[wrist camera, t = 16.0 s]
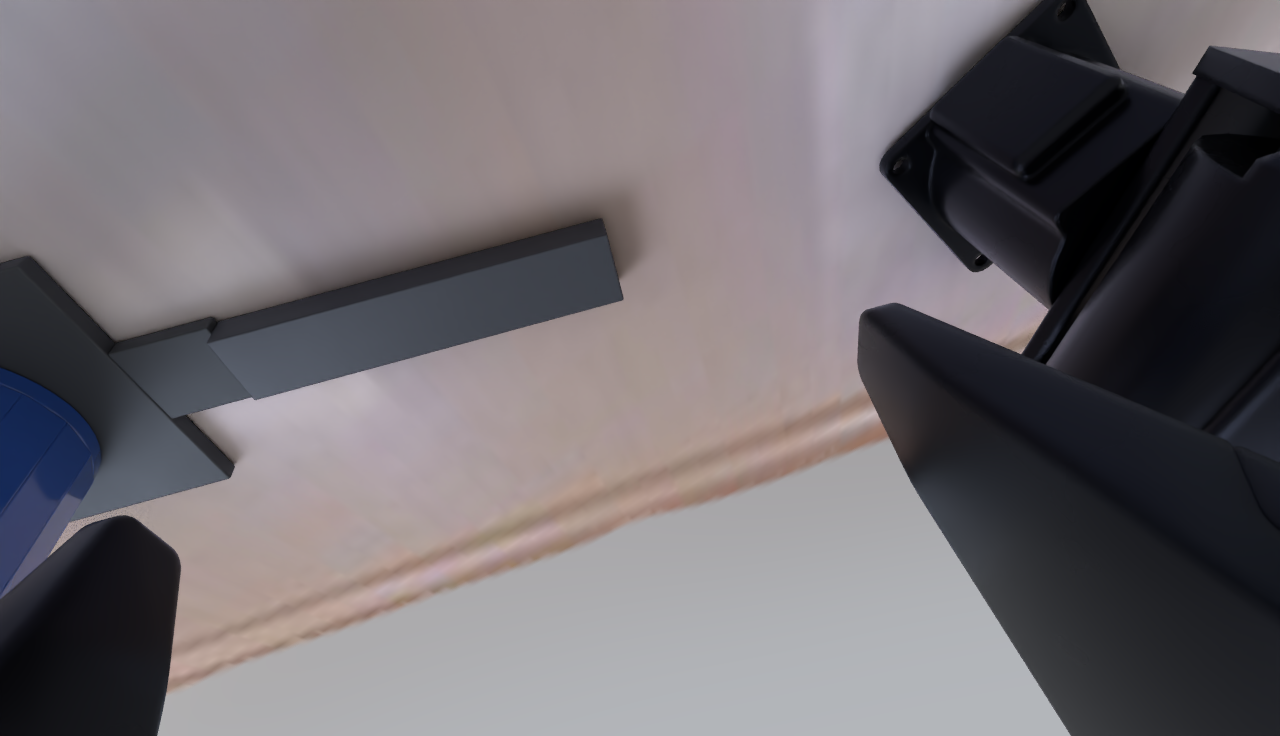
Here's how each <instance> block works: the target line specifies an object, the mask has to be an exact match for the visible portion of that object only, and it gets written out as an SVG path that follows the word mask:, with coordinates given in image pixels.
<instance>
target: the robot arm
mask: <svg viewBox="0 0 1280 736" xmlns="http://www.w3.org/2000/svg"><path fill="white" fill-rule="evenodd" d="M1065 2H1066V5H1065V8H1064V10H1063V11H1062V13H1061V14H1060V15H1059V16H1057V13H1058V10H1059V8H1060V7H1061V6H1062V4H1063V3H1065ZM1192 74H1194V75H1196V78H1195V79H1194V81H1193V82H1192V84H1191V85H1190V87H1189V89H1188V90H1187V92H1186V93H1185V94H1184V93H1181V92H1179V91H1176V90H1173V89H1170V88H1168V87H1165V86H1162V85H1160V84H1157V83H1154V82H1152V81H1149V80H1146V79H1143V78H1141V77H1138V76H1135V75H1133V74H1130V73H1127V72H1125V71H1122V70H1120V68H1119V66H1118V64H1117V62H1116V60H1115V58H1114V56H1113V54H1112V52H1111V50H1110V48H1109V46H1108V44H1107V42H1106V39H1105V37H1104V35H1103V33H1102V31H1101V29H1100V27H1099V25H1098V23H1097V21H1096V19H1095V17H1094V15H1093V13H1092V11H1091V9H1090V7H1089V5H1088V3H1087V1H1086V0H1043V1H1042V2H1041V3H1040V4H1039V5H1038V6H1037V7H1036V8H1035V9H1034V10H1033V11H1032V12H1031V13H1030V14H1029V15H1028V16H1027V17H1026V18H1025V19H1024V20H1023V21H1022V22H1021V23H1019V24H1018V25H1017V26H1016V27H1015V28H1014V29H1013V30H1012V31H1011V32H1010V33H1009V34H1008V35H1007V36H1006V37H1005V38H1003V39H1002V40H1001V41H1000V42H999V43H998V44H997V45H996V46H995V47H994V48H993V49H992V50H991V51H990V52H989V53H988V54H987V55H986V56H985V57H983V58H982V59H981V60H980V61H979V62H978V63H977V64H976V65H975V66H974V67H973V68H972V69H971V70H970V71H969V72H968V73H967V74H966V75H965V76H964V77H963V78H962V79H961V80H960V81H959V82H958V83H957V84H956V85H955V86H954V87H953V88H951V89H950V90H949V91H948V92H947V93H946V94H945V95H944V96H943V97H942V98H941V99H940V100H939V101H938V102H937V103H936V104H935V105H934V106H933V108H932V109H931V110H930V111H929V112H928V113H927V114H926V115H924V116H923V117H922V118H921V119H920V120H919V121H918V122H917V123H916V124H915V125H914V126H913V127H912V128H911V129H910V130H909V131H908V132H907V133H906V134H905V135H904V136H903V137H902V138H901V139H900V140H899V141H898V142H897V143H896V144H895V145H894V146H892V147H891V148H890V149H889V150H888V151H887V152H886V154H885V155H884V156H883V157H882V159H881V162H880V172H881V174H882V175H883V176H884V177H885V178H886V179H887V181H888V182H889V183H890V184H891V185H892V186H893V187H894V188H895V189H896V191H897V192H898V193H899V194H900V195H901V196H902V197H903V198H904V199H905V200H906V202H907V203H908V204H909V205H910V206H911V207H912V208H913V209H914V210H915V212H916V213H917V214H918V215H919V216H920V217H921V218H922V219H923V220H924V221H925V223H926V224H927V225H928V226H929V227H930V228H931V229H932V230H933V231H934V233H935V234H936V235H937V236H938V237H939V238H940V239H941V240H942V241H943V242H944V244H945V245H946V246H947V247H948V248H949V249H950V250H951V251H952V252H953V253H954V255H955V256H956V257H957V258H958V259H959V260H960V261H961V262H962V263H963V264H964V265H965V266H966V267H967V268H968V269H969V270H971V271H972V272H979V271H983V270H984V269H986V268H987V267H989V266H990V265H991V264H992V263H994V264H995V265H997V266H998V267H999V268H1000V269H1001V270H1002V271H1004V272H1005V273H1006V274H1007V275H1008V276H1010V277H1011V278H1012V279H1013V280H1014V281H1015V282H1017V283H1018V284H1019V285H1020V286H1021V287H1023V288H1024V289H1025V290H1026V291H1027V292H1028V293H1030V294H1031V295H1032V296H1033V297H1034V298H1036V299H1037V300H1038V301H1039V302H1040V303H1042V304H1043V305H1044V306H1045V307H1046V308H1047V309H1049V311H1048V313H1047V314H1046V316H1045V318H1044V319H1043V321H1042V322H1041V324H1040V326H1039V327H1038V329H1037V330H1036V332H1035V334H1034V335H1033V337H1032V338H1031V340H1030V341H1029V343H1028V345H1027V346H1026V348H1025V349H1024V351H1023V353H1022V354H1019V353H1017V352H1014V351H1012V350H1009V349H1007V348H1005V347H1002V346H1000V345H997V344H995V343H993V342H990V341H988V340H985V339H983V338H981V337H978V336H976V335H974V334H971V333H969V332H966V331H964V330H962V329H959V328H957V327H954V326H952V325H950V324H947V323H945V322H942V321H940V320H938V319H935V318H933V317H931V316H928V315H926V314H923V313H921V312H919V311H916V310H914V309H911V308H909V307H907V306H904V305H902V304H898V303H889V304H886V305H882V306H878V307H875V308H871V309H867V310H865V311H864V312H863V313H862V314H861V316H860V320H859V336H858V358H857V363H858V370H859V374H860V377H861V379H862V382H863V384H864V386H865V388H866V390H867V392H868V394H869V396H870V398H871V401H872V403H873V405H874V407H875V409H876V411H877V413H878V415H879V417H880V419H881V421H882V424H883V426H884V428H885V430H886V432H887V434H888V436H889V438H890V440H891V442H892V444H893V447H894V449H895V451H896V453H897V455H898V457H899V459H900V461H901V463H902V465H903V467H904V469H905V471H906V473H907V475H908V477H909V479H910V481H911V483H912V485H913V486H914V488H915V490H916V491H917V493H918V494H919V496H920V498H921V500H922V501H923V503H924V504H925V506H926V508H927V509H928V511H929V512H930V514H931V516H932V517H933V519H934V520H935V521H936V523H937V525H938V526H939V528H940V529H941V531H942V533H943V534H944V536H945V538H946V539H947V541H948V542H949V544H950V546H951V547H952V549H953V550H954V552H955V553H956V555H957V557H958V558H959V559H960V561H961V563H962V564H963V566H964V568H965V569H966V571H967V572H968V574H969V575H970V577H971V579H972V580H973V582H974V583H975V585H976V587H977V588H978V590H979V591H980V593H981V594H982V596H983V598H984V599H985V601H986V602H987V604H988V606H989V607H990V608H991V610H992V612H993V613H994V615H995V617H996V618H997V620H998V621H999V623H1000V624H1001V626H1002V627H1003V629H1004V631H1005V632H1006V634H1007V635H1008V637H1009V638H1010V640H1011V642H1012V643H1013V645H1014V647H1015V648H1016V650H1017V651H1018V653H1019V654H1020V656H1021V658H1022V659H1023V661H1024V662H1025V664H1026V665H1027V667H1028V669H1029V670H1030V672H1031V673H1032V675H1033V677H1034V678H1035V679H1036V681H1037V683H1038V684H1039V686H1040V688H1041V689H1042V691H1043V692H1044V694H1045V695H1046V697H1047V698H1048V700H1049V702H1050V703H1051V705H1052V707H1053V708H1054V710H1055V711H1056V713H1057V714H1058V716H1059V717H1060V719H1061V721H1062V722H1063V724H1064V725H1065V727H1066V729H1067V730H1068V732H1069V733H1070V735H1071V736H1280V53H1271V52H1262V51H1254V50H1245V49H1236V48H1227V47H1219V46H1209V47H1208V49H1207V50H1206V52H1205V54H1204V55H1203V57H1202V58H1201V60H1200V62H1199V63H1198V65H1197V66H1196V68H1195V70H1194V71H1193V73H1192ZM901 159H903V161H902V164H901V165H900V167H899V168H897V169H895V170H893V168H894V165H895V164H896V163H897V162H898V161H899V160H901ZM979 255H981V256H980V257H979V258H978V259H976V258H977V257H978V256H979ZM180 573H181V564H180V559H179V557H178V554H177V553H176V551H175V550H174V549H173V548H172V547H171V546H169V545H168V544H167V543H166V542H164V541H163V540H162V539H161V538H159V537H158V536H157V535H156V534H154V533H153V532H152V531H151V530H149V529H148V528H147V527H146V526H144V525H143V524H142V523H141V522H139V521H138V520H136V519H135V518H133V517H130V516H126V515H124V516H115V517H112V518H108V519H104V520H101V521H97V522H93V523H91V524H88V525H86V526H85V527H83V528H81V529H80V530H79V531H78V532H77V533H75V534H74V535H73V536H72V537H71V538H70V539H69V540H67V541H66V542H65V543H64V544H63V545H62V546H61V547H59V548H58V549H57V550H56V551H55V552H54V553H53V554H51V555H50V556H49V557H48V558H47V559H46V560H45V561H43V562H42V563H41V564H40V565H39V566H38V567H37V568H35V569H34V570H33V571H32V572H31V573H30V574H29V575H27V576H26V577H25V578H24V579H23V580H22V581H21V582H19V583H18V584H17V585H16V586H15V587H14V588H13V589H11V590H10V591H9V592H8V593H7V594H6V595H5V596H3V597H2V598H1V599H0V736H157V734H158V729H159V725H160V721H161V716H162V712H163V706H164V701H165V696H166V691H167V685H168V677H169V670H170V662H171V653H172V644H173V635H174V626H175V617H176V609H177V600H178V591H179V582H180Z"/></svg>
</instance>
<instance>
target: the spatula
mask: <svg viewBox="0 0 1280 736" xmlns="http://www.w3.org/2000/svg"><path fill="white" fill-rule="evenodd" d="M623 299H624V298H623V294H622V290H621V286H620V282H619V279H618V275H617V271H616V267H615V263H614V259H613V256H612V252H611V248H610V244H609V240H608V236H607V233H606V229H605V226H604V223H603V220H602V219H601V218H600V219H597V220H593V221H589V222H586V223H582V224H578V225H574V226H571V227H567V228H563V229H560V230H556V231H552V232H549V233H545V234H541V235H537V236H534V237H530V238H526V239H523V240H519V241H515V242H512V243H508V244H504V245H500V246H497V247H493V248H489V249H486V250H482V251H478V252H474V253H471V254H467V255H463V256H460V257H456V258H452V259H449V260H445V261H441V262H437V263H434V264H430V265H426V266H423V267H419V268H415V269H412V270H408V271H404V272H400V273H397V274H393V275H389V276H386V277H382V278H378V279H375V280H371V281H367V282H363V283H360V284H356V285H352V286H349V287H345V288H341V289H338V290H334V291H330V292H326V293H323V294H319V295H315V296H312V297H308V298H304V299H301V300H297V301H293V302H289V303H286V304H282V305H278V306H275V307H271V308H267V309H264V310H260V311H256V312H252V313H249V314H245V315H241V316H238V317H234V318H230V319H227V320H223V321H219V322H218V323H217V321H216V320H215V319H214V318H213V317H211V318H207V319H203V320H200V321H196V322H192V323H188V324H185V325H181V326H177V327H174V328H170V329H166V330H163V331H159V332H155V333H151V334H148V335H144V336H140V337H137V338H133V339H129V340H126V341H122V342H118V343H116V344H115V343H114V342H113V341H112V340H111V339H110V338H109V337H108V336H107V335H106V334H105V333H104V332H103V331H102V330H101V329H100V328H99V327H98V326H97V325H96V324H95V323H94V322H93V320H92V319H91V318H90V317H89V316H88V315H87V314H86V313H85V312H84V311H83V310H82V309H81V308H80V307H79V306H78V305H77V304H76V303H75V302H74V301H73V300H72V299H71V298H70V297H69V296H68V295H67V294H66V293H65V292H64V291H63V290H62V289H61V288H60V287H59V286H58V285H57V284H56V283H55V282H54V281H53V280H52V279H51V278H50V276H49V275H48V274H47V273H46V272H45V271H44V270H43V269H42V268H41V267H40V266H39V265H38V264H37V263H36V262H35V261H34V260H33V259H32V258H31V257H29V256H27V257H23V258H19V259H15V260H12V261H8V262H4V263H0V367H1V368H4V369H7V370H9V371H11V372H14V373H16V374H19V375H21V376H23V377H26V378H28V379H29V380H31V381H33V382H35V383H37V384H39V385H41V386H43V387H45V388H46V389H48V390H50V391H51V392H53V393H54V394H56V395H57V396H59V397H60V398H62V399H63V400H64V401H66V402H67V403H68V404H70V405H71V406H72V407H73V408H74V409H75V410H76V411H77V412H78V413H79V414H80V415H81V416H82V417H83V418H84V419H85V420H86V421H87V423H88V424H89V425H90V427H91V428H92V430H93V431H94V433H95V435H96V437H97V439H98V442H99V445H100V450H101V464H100V468H99V471H98V473H97V475H96V476H95V478H94V481H93V484H92V485H91V487H90V489H89V490H88V492H87V493H86V495H85V497H84V498H83V500H82V502H81V503H80V505H79V507H78V508H77V510H76V512H75V513H74V515H73V516H72V518H71V520H70V521H69V522H72V521H75V520H79V519H83V518H86V517H90V516H94V515H97V514H101V513H105V512H108V511H112V510H116V509H119V508H123V507H127V506H130V505H134V504H138V503H141V502H145V501H148V500H152V499H156V498H159V497H163V496H167V495H170V494H174V493H178V492H181V491H185V490H189V489H192V488H196V487H200V486H203V485H207V484H211V483H214V482H218V481H222V480H225V479H229V478H230V477H231V475H232V473H233V470H234V468H235V466H234V465H233V464H232V463H231V462H230V461H229V460H228V459H227V458H226V457H225V456H224V455H223V454H222V452H221V451H220V450H219V449H218V448H217V447H216V446H215V445H214V444H213V443H212V442H211V441H210V440H209V439H208V438H207V437H206V436H205V435H204V434H203V433H202V432H201V431H200V430H199V429H198V428H197V427H196V426H195V425H194V424H193V423H192V422H191V421H190V420H189V419H188V418H187V417H186V416H185V415H187V414H191V413H195V412H198V411H202V410H206V409H210V408H213V407H217V406H221V405H224V404H228V403H232V402H235V401H239V400H243V399H246V398H250V397H252V398H253V399H254V400H257V399H261V398H265V397H268V396H272V395H276V394H279V393H283V392H287V391H290V390H294V389H298V388H301V387H305V386H309V385H313V384H316V383H320V382H324V381H327V380H331V379H335V378H338V377H342V376H346V375H349V374H353V373H357V372H360V371H364V370H368V369H371V368H375V367H379V366H382V365H386V364H390V363H393V362H397V361H401V360H405V359H408V358H412V357H416V356H419V355H423V354H427V353H430V352H434V351H438V350H441V349H445V348H449V347H452V346H456V345H460V344H463V343H467V342H471V341H474V340H478V339H482V338H485V337H489V336H493V335H497V334H500V333H504V332H508V331H511V330H515V329H519V328H522V327H526V326H530V325H533V324H537V323H541V322H544V321H548V320H552V319H555V318H559V317H563V316H566V315H570V314H574V313H577V312H581V311H585V310H588V309H592V308H596V307H600V306H603V305H607V304H611V303H614V302H618V301H622V300H623Z"/></svg>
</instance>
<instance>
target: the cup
mask: <svg viewBox="0 0 1280 736" xmlns="http://www.w3.org/2000/svg"><path fill="white" fill-rule="evenodd" d="M100 464H101V450H100V445H99V442H98V439H97V437H96V435H95V433H94V431H93V430H92V428H91V427H90V425H89V424H88V423H87V421H86V420H85V419H84V418H83V417H82V416H81V415H80V414H79V413H78V412H77V411H76V410H75V409H74V408H73V407H72V406H71V405H70V404H68V403H67V402H66V401H64V400H63V399H62V398H60V397H59V396H57V395H56V394H54V393H53V392H51V391H50V390H48V389H46V388H45V387H43V386H41V385H39V384H37V383H35V382H33V381H31V380H29V379H28V378H26V377H23V376H21V375H19V374H16V373H14V372H11V371H9V370H7V369H4V368H1V367H0V599H1V598H2V597H3V596H5V595H6V594H7V593H8V592H9V591H10V590H11V589H13V588H14V587H15V586H16V585H17V584H18V583H19V582H21V581H22V580H23V579H24V578H25V577H26V576H27V575H29V574H30V573H31V572H32V571H33V570H34V569H35V568H37V567H38V566H39V565H40V564H41V563H42V562H43V561H45V560H46V559H47V558H48V556H49V554H50V553H51V551H52V549H53V548H54V546H55V544H56V543H57V541H58V539H59V538H60V536H61V535H62V533H63V531H64V530H65V528H66V526H67V525H68V523H69V521H70V520H71V518H72V516H73V515H74V513H75V512H76V510H77V508H78V507H79V505H80V503H81V502H82V500H83V498H84V497H85V495H86V493H87V492H88V490H89V489H90V487H91V485H92V484H93V481H94V478H95V476H96V475H97V473H98V471H99V468H100Z"/></svg>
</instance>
